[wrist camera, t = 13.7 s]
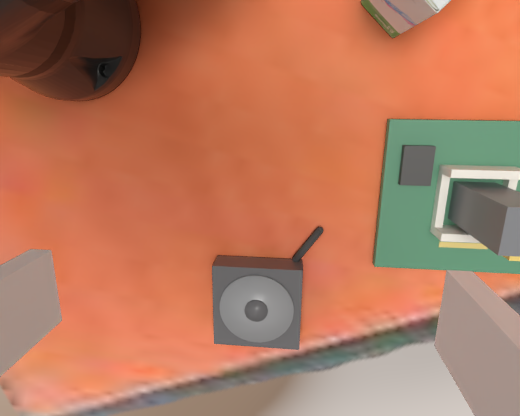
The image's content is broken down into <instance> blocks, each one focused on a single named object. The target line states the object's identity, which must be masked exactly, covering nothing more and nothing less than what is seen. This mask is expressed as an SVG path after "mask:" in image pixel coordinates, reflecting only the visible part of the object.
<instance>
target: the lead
mask: <svg viewBox="0 0 520 416" xmlns="http://www.w3.org/2000/svg"><path fill="white" fill-rule="evenodd" d="M322 233H323V228H322V227H318V228H317V229H316V230H315V231H314V232H313V234H312V235H311V236H310V237H309V238H308V240H307V241H306V242H305V243H304V244H303V246H302V247H301V248H300V249H299V250H298V252H297V253H296V254H295V255H294V256H293V258H292V260H293V261H294V262H298V261H299V260H300V259H301V258H302V257H303V256H304V254H305V253H306V252H307V251H308V250H309V248H310V247H311V246H312V245H313V244H314V242H315V241H316V240H317V239H318V238H319V236H320V235H321V234H322Z"/></svg>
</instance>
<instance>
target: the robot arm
mask: <svg viewBox="0 0 520 416" xmlns="http://www.w3.org/2000/svg"><path fill="white" fill-rule="evenodd" d="M139 44H140V17H139V11H138V7H137V4H136V0H0V76H4V77H10V78H12V79H13V80H15V81H17V82H19V83H20V84H22V85H24V86H26V87H28V88H29V89H31V90H33V91H35V92H37V93H39V94H41V95H44V96H47V97H50V98H54V99H58V100H70V101H85V100H91V99H95V98H99V97H101V96H103V95H106V94H107V93H109V92H111V91H112V90H114V89H115V88H116V87H117V86H118V85H119V84H120V83H121V82H122V81H123V80H124V79H125V78H126V76H127V75H128V73H129V72H130V70H131V68H132V66H133V64H134V62H135V59H136V56H137V53H138V49H139ZM61 321H62V316H61V310H60V303H59V297H58V290H57V284H56V277H55V271H54V264H53V258H52V251H51V250H38V249H30V250H28V251H26V252H24V253H22V254H21V255H19V256H17V257H15V258H13V259H11V260H9V261H7V262H6V263H4V264H2V265H0V377H1V376H2V375H3V374H4V373H5V372H6V371H7V370H8V369H9V368H10V367H12V366H13V365H14V364H15V363H16V362H17V361H18V360H19V359H20V358H21V357H23V356H24V355H25V354H26V353H27V352H28V351H29V350H30V349H31V348H32V347H33V346H35V345H36V344H37V343H38V342H39V341H40V340H41V339H42V338H43V337H44V336H46V335H47V334H48V333H49V332H50V331H51V330H52V329H53V328H54V327H55V326H56V325H58V324H59V323H60V322H61ZM435 347H436V349H437V351H438V353H439V354H440V356H441V358H442V360H443V362H444V363H445V365H446V367H447V368H448V370H449V372H450V374H451V375H452V377H453V379H454V381H455V382H456V384H457V386H458V387H459V389H460V391H461V393H462V395H463V396H464V398H465V400H466V401H467V403H468V405H469V407H470V408H471V410H472V412H473V414H474V415H475V416H520V315H518V314H517V313H516V312H515V311H514V310H513V309H512V308H511V307H510V306H509V305H508V304H507V303H506V302H505V301H503V300H502V299H501V298H500V297H499V296H498V295H497V294H496V293H495V292H494V291H493V290H492V289H491V288H490V287H489V286H487V285H486V284H485V283H484V282H483V281H482V280H481V279H480V278H479V277H478V276H477V275H476V274H475V273H474V272H473V271H457V270H447V271H446V277H445V284H444V290H443V296H442V302H441V308H440V314H439V320H438V326H437V333H436V339H435Z"/></svg>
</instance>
